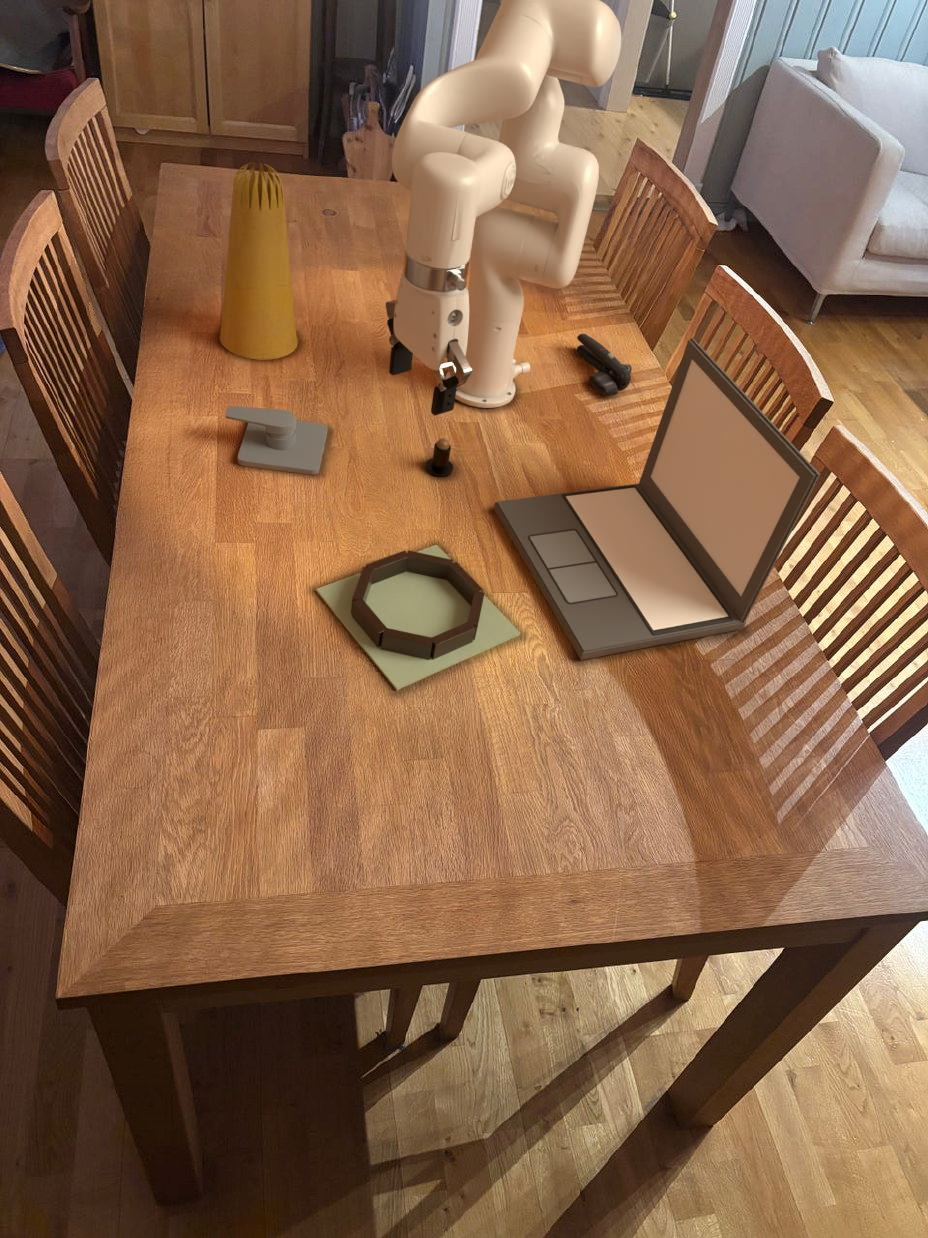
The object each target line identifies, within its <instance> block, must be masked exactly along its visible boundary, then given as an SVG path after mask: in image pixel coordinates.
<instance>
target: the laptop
mask: <svg viewBox="0 0 928 1238" xmlns="http://www.w3.org/2000/svg"><path fill="white" fill-rule="evenodd" d="M675 374H676V375H675V378H674V380H673V383H672V386H671V389H670V392H669V395H668V397H667V401H666V404H665V407H664V409H663V412H662V415H661V418H660V420H659V424H658V427H657V428H656V429H657V430H656V433H655V435H654V438H653V441H652V444H651V447H650V450H649V452H648V456H647V458H646V461H645V464H644V467H643V470H642V472H641V475H640V479H639V481H638V483H633V484H626V485H618V486H607V487H602V488H600V487H599V488H593V489H584V490H577V491H570V492H569V491H568V492H561V493H553V494H546V495H545V494H544V495H537V496H529V497H521V498H514V499H513V498H512V499H504V500H497V501H495V502H494V505H493V510H494V512H495V514H496V515H497V517H498V520H499V521H500V522H501V524H502V526H503V528H504V529H505V531H506V533H507V534H508V536H509V538H510V540H511V542H512V543H513V545H514V547H515V548H516V550H517V552H518V554H519V555H520V557H521V559H522V560H523V562H524V564H525V566H526V568H527V569H528V571H529V573H530V574H531V576H532V578H533V580H534V582H535V583H536V586H538V589H539V590H540V592H541V594H542V596H543V597H544V599H545V600H546V602H547V604H548V606H549V607H550V609H551V611H552V613H553V615H554V617H555V618H556V620H557V621H558V623H559V625H560V627H561V629H562V630H563V632H564V634H565V636H566V637H567V639H568V641H569V642H570V644H571V646H572V648H573V649H574V651H575V653H576V654H577V656H578V658H579V660H580V661H584V660H590V659H594V658H600V657H605V656H610V655H616V654H620V653H625V652H630V651H635V650H641V649H647V648H652V647H657V646H662V645H667V644H672V643H678V642H682V641H688V640H692V639H698V638H703V637H708V636H714V635H718V634H719V635H720V634H724V633H729V632H734V631H740V630H743V629H744V628H745V625H746V624H747V622H746V621H747V620H748V618H749V616H750V614H751V612H752V610H753V608H754V606H755V604H756V602H757V600H758V598H759V596H760V594H761V592H762V591H763V588H764V586H765V584H766V582H767V580H768V579H769V577H770V574H771V573H772V570H773V569H774V567H775V565H776V563H777V560H778V559H779V557H780V555H781V553H782V551H783V549H784V547H785V545H786V543H787V541H788V539H789V537H790V535H791V533H792V531H793V530H794V527H795V525H796V523H797V521H798V519H799V517H800V516H801V514H802V511H804V510H803V509H804V508H805V506H806V504H807V502H808V500H809V498H810V497H811V494H812V492H813V490H814V488H815V486H816V484H817V482H818V480H819V479H820V476H821V473H820V472H819V471H818V470H817V469H816V468H815V467H814V466H813V464H811V462H810V461H809V460H808V459H807V458H806V457H805V456H804V454H803V453H801V452H800V451H799V449H798V448H797V447H796V446H795V445H794V444H793V443H792V442H791V441H790V440H789V439H788V437H786V436H785V435H784V433H783V432H782V431H781V430H780V429H779V428H778V427H777V426H776V425H775V424H774V423H773V422H772V421H771V420H770V418H769V417H768V416H767V415H766V414H765V413H764V412H763V411H762V410H761V409H760V408H759V407H758V405H757V404H755V402H754V401H753V400H752V399H751V398H750V397H749V396H748V395H747V393H746V392H744V390H743V389H742V388H741V387H739V385H738V384H737V383H736V382H735V381H734V380H733V378H731V377H730V376H729V374H728V373H727V372H726V371H724V369H723V368H722V367H721V366H720V365H719V364H718V362H717V361H716V360H714V358H713V357H712V356H710V354H709V352H707V351H706V350H705V349H704V348H703V347H702V346H701V345H700V344H699V343H698V342H697V341H696V339H695V338H693V337H690V339H688V340H687V343H686V345H685V349H684V351H683V355H682V356H681V360H680V363H679V366H678V369H677V372H676V373H675Z"/></svg>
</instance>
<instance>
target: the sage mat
mask: <svg viewBox="0 0 928 1238" xmlns="http://www.w3.org/2000/svg"><path fill="white" fill-rule="evenodd" d="M417 552H419V553H423V554H428V555H432V556H437V557H442V558H446V559H451V558H450V557H449V556H448V554H447V553H445V551H443V550H442V549H441V548H440V546H439V545H438V544H434V545H431V546H429V547H426V548H422V549H421V550H418V551H417ZM453 563H454V561H453ZM360 575H361V572H359V573H355V574H353V575H350V576H348V577H347V576H346V577H345V578H342V579H339V580H336V581H334V582H331V583H328V584H326V585H323V586H320V587H318V588H317V587H316V589H315V592H316V593H317V594H318V595H319V597H320V598H321V599H322V600H323V602H324V603H325V604H326V605H327V606H328V608H329V609H330V610H331V611H332V613H333V614H334V616H336V618H337V619H338V620H339V622H340V623H341V624H342V625H343V626H344V628H345V629H346V630H347V631H348V632H349V634H350V635H351V636H352V638H353V639H354V640H355V641H356V642H357V644H358V645H359V646H360V647H361V648H362V650H363V651H364V653H366V655H367V656H368V657H369V658H370V660H371V661H372V662H373V663H374V665H375V666H376V667H377V668H378V670H379V671H380V672H381V674H382V675H383V676H384V677H385V678H386V680H387V681H388V682H389V683H390V685H391V686H392V687H393V688H394V689H395V691H399V690H402V689H404V688H406V687H408V686H410V685H413V684H415V683H417V682H419V681H422V680H424V679H426V678H427V677H430V676H433V675H435V674H437V673H440V672H442V671H445V670H446V669H449V668H450V667H452V666H455V665H457V664H459V663H461V662H465V661H466V660H469V659H471V658H473V657H475V656H478V655H479V654H482V653H484V652H486V651H488V650H490V649H493V648H495V647H497V646H499V645H502V644H504V643H506V642H508V641H510V640H513V639H515V638H518V637H519V636H521V632H520V631H519V630H518V628H516V626H514V624H513V623H512V622H511V621H510V620H509V619H508V618H507V617H506V616H505V615H504V613H502V611H500V609H498V608H497V607H496V606H495V604H494V603H493V602H492V601H491V600H490V599H489V598H488V597H487V596H486V595H485V594H484V599H483V604H482V608H481V613H480V618H479V623H478V628H477V632H476V636H475V640H473V642H472V643H470V644H468V645H465V646H463V647H461V648H458V649H456V650H454V651H452V652H449V653H447V654H445V655H443V656H440V657H438V658H436V659H434V660H433V659H432V658H431V656H430V659H429V660H427V659H423V658H418V657H413V656H409V655H404V654H400V653H395V652H390V651H386V650H381V646H380V647H377V646H376V645H375V644H374V643H373V641H372V640H371V639H370V638H369V637H368V635H367V634H366V633H365V632H364V630H363V629H362V628H361V627H360V626H359V624H358V623H357V622H356V621H355V620H354V618H353V617H352V613H351V607H352V598H353V595H354V592H355V589H356V586H357V583H358V581H359V578H360ZM366 604H367V605H368V606H369V607H370V608H371V610H372V611H373V612H374V613H375V614H376V615H377V617H378V618H379V619H380V620H381V621H382V623H383V624H384V625H385V626H386V627H387V628H390V629H394V630H399V631H404V632H408V633H413V634H417V635H422V636H427V637H431V638H432V637H434V636H436V635H439V634H441V633H443V632H446V631H448V630H450V629H453V628H455V627H457V626H460V625H462V624H464V623H467V622H468V619H469V614H470V609H471V605H470V604H469V603H468V602H467V601H466V600H465V599H464V598H463V597H462V596H461V595H460V594H459V593H458V591H457V590H456V589H455V588H454V587H453V586H452V585H451V584H450V583H449V582H448V581H447V580H444V579H439V578H435V577H430V576H425V575H421V574H416V573H411V572H407V571H406V572H404V573H401V574H398V575H396V576H393V577H390V578H388V579H385V580H383V581H380V582H377V583H375V584H372V585H371V587H370V590H369V593H368V596H367V599H366Z"/></svg>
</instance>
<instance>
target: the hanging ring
mask: <svg viewBox="0 0 928 1238" xmlns="http://www.w3.org/2000/svg"><path fill="white" fill-rule="evenodd" d="M453 562H454V559H451V558H450V559H446V558H442V557H437V556H432V555H428V554H423V553H419V552H418V551H413V550H410V549H409V550H407V551H406V550H402V551H399V552H396V553H394V554H391V555H388V556H386V557H383V558H380V559H378V560H374V561H372V562H369V563H367V564H365V566H362V569H361V572H360V573H361V575H360V578H359V581H358V583H357V586H356V589H355V592H354V595H353V598H352V607H351V613H352V617H353V618H354V620H355V621H356V622H357V623H358V624H359V626H360V627H361V628H362V629H363V630H364V632H365V633H366V634H367V635H368V637H369V638H370V639H371V640H372V641H373V643H374V644H375V645H376V646H377V647H380V646H381V650H386V651H390V652H395V653H400V654H404V655H409V656H413V657H418V658H423V659H427V660H429V659H430V656H431V658H432V659H433V660H434V659H436V658H438V657H440V656H443V655H445V654H447V653H449V652H452V651H454V650H456V649H458V648H461V647H463V646H465V645H468V644H470V643H472V642H473V640H475V636H476V632H477V628H478V623H479V618H480V613H481V608H482V604H483V599H484V595H485V592H484V589H483V587H481V586H480V585H479V584H478V583H477V582H476V580H474V578H473V577H471V575H469V573H468V572H467V571H466V570H465V569H464V568H463V567H462V566H461V565H460V564H459V562H457V561H455V562H454V563H453ZM406 571H407V572H411V573H416V574H421V575H425V576H430V577H435V578H439V579H444V580H447V581H448V582H449V583H450V584H451V585H452V586H453V587H454V588H455V589H456V590H457V591H458V593H459V594H460V595H461V596H462V597H463V598H464V599H465V600H466V601H467V602H468V603H469V604H470V605H471V609H470V614H469V619H468V622H467V623H464V624H462V625H460V626H457V627H455V628H453V629H450V630H448V631H446V632H443V633H441V634H439V635H436V636H434V637H432V638H431V637H427V636H422V635H417V634H413V633H408V632H404V631H399V630H394V629H390V628H387V627H386V626H385V625H384V624H383V623H382V621H381V620H380V619H379V618H378V617H377V615H376V614H375V613H374V612H373V611H372V610H371V608H370V607H369V606H368V605H367V604H366V599H367V596H368V593H369V590H370V587H371V585H372V584H375V583H377V582H380V581H383V580H385V579H388V578H390V577H393V576H396V575H398V574H401V573H404V572H406Z"/></svg>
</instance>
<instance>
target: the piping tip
mask: <svg viewBox="0 0 928 1238" xmlns="http://www.w3.org/2000/svg"><path fill="white" fill-rule="evenodd" d="M251 164H252V165H251ZM249 165H251V166H250V169H248V167H249ZM264 166H266V169H267V172H265V170H264ZM264 166H263V164H262V163H261V162H259V168H258V171H256V162H249V163H247V164H244V165H242V166H241V167H239V169H238V170H237V171H236V173H235V175H234V177H233V182H232V183H233V184H232V194H231V195H232V196H231V206H230V207H231V208H230V220H229V233H228V234H229V235H228V245H227V258H226V267H225V268H226V270H225V282H224V291H223V293H224V294H223V303H222V304H223V305H222V317H221V327H220V331H219V342H220V343H221V345H222V346H223V347H224V348H225V349H226V350H227V351H229V352H230V353H232V354H234V355H236V356H239V357H242V358H245V359H251V360H259V361H268V360H275V359H280V358H283V357H286V356H288V355H290V354H292V353H294V352H295V350H296V349H297V347H298V344H299V338H298V335H297V328H296V319H295V308H294V296H293V284H292V283H293V282H292V273H291V262H290V251H289V238H288V227H287V226H288V225H287V216H286V214H287V213H286V202H285V192H284V185H283V180H282V177H281V175H280V174H279V172H278V171H277V170H276V169H274V168H273V167H272V166H270V165H268V164H266V163H264ZM248 172H249V175H248V176H247V173H248ZM265 174H266V175H265ZM240 175H241V176H240ZM266 176H267V184H266ZM274 180H275V181H274Z"/></svg>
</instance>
